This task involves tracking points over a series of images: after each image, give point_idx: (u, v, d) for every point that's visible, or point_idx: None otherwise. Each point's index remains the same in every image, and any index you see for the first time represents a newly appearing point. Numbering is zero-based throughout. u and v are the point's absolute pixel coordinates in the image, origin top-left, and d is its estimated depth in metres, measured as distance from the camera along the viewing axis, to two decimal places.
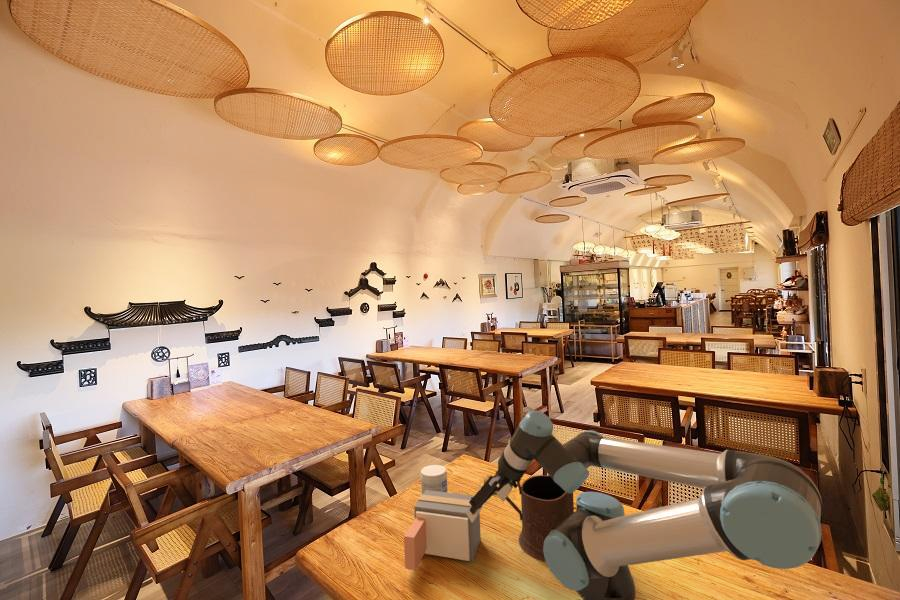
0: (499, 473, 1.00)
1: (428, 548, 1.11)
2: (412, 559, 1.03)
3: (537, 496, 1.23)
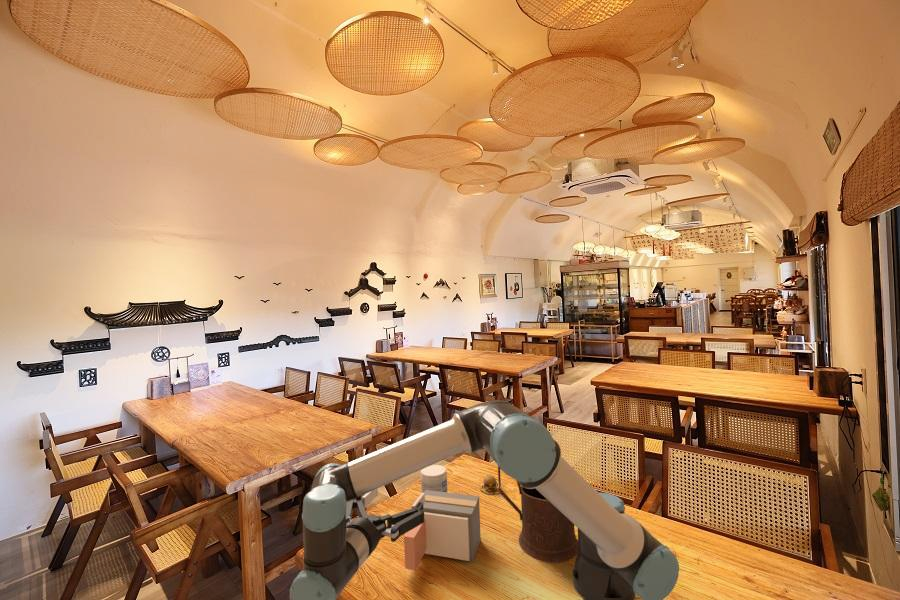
0: (380, 537, 0.81)
1: (428, 548, 1.11)
2: (412, 559, 1.03)
3: (537, 496, 1.23)
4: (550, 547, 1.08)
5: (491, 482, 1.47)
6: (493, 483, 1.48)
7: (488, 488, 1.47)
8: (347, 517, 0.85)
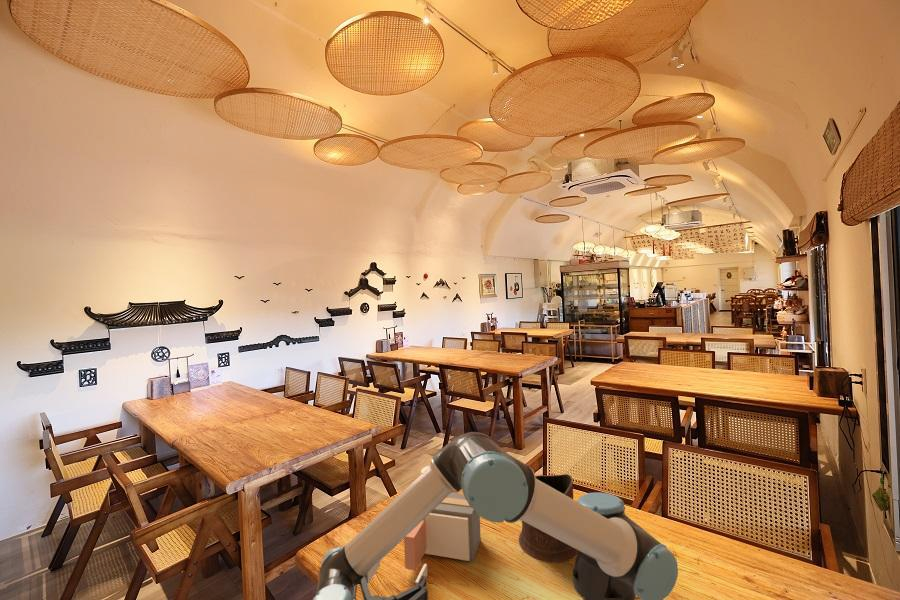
0: None
1: (428, 548, 1.11)
2: (412, 559, 1.03)
3: None
4: (550, 547, 1.08)
5: None
6: None
7: None
8: None
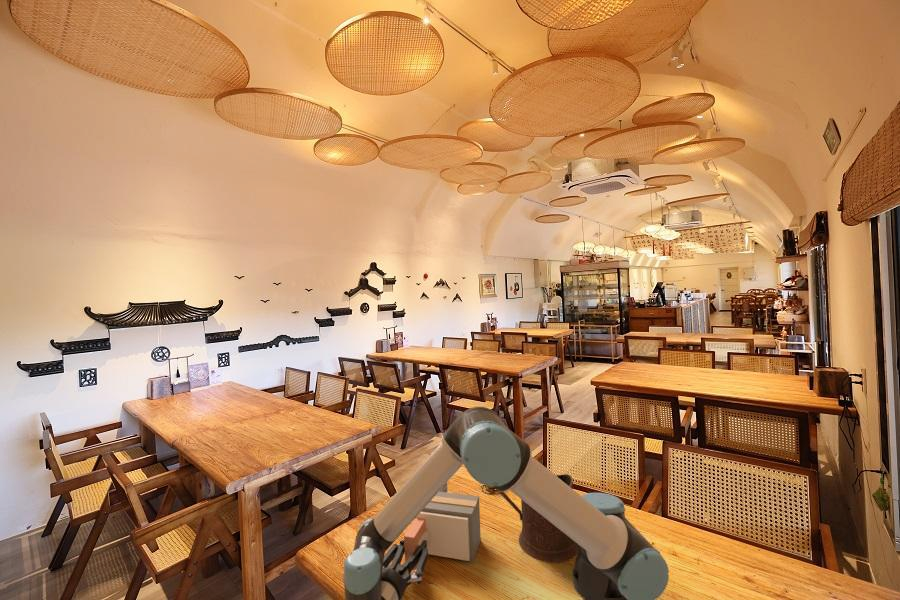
0: None
1: (428, 548, 1.11)
2: None
3: None
4: (550, 547, 1.08)
5: None
6: None
7: (489, 488, 1.48)
8: None
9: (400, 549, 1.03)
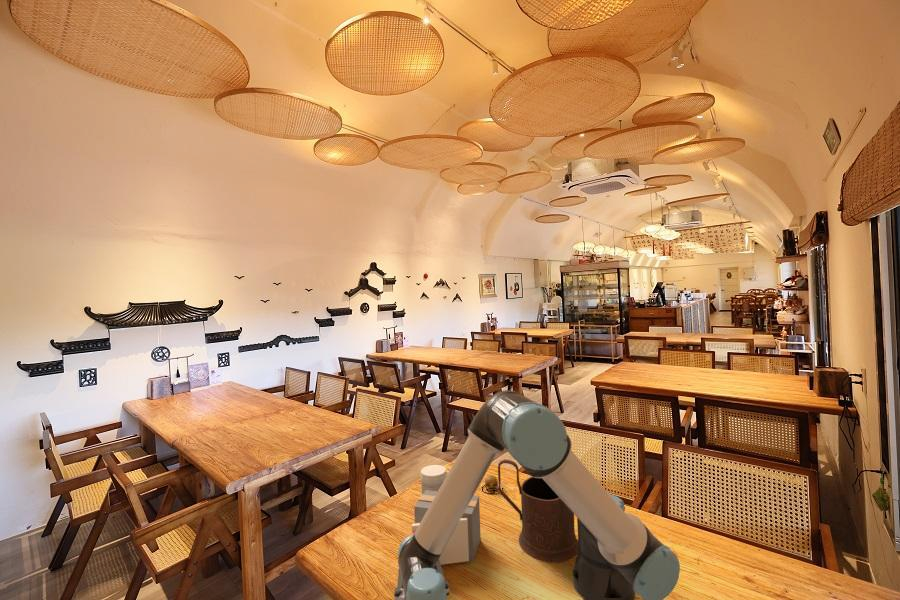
0: None
1: None
2: None
3: (537, 496, 1.23)
4: (550, 547, 1.08)
5: (492, 482, 1.48)
6: (494, 483, 1.48)
7: (489, 488, 1.48)
8: (399, 589, 0.89)
9: None
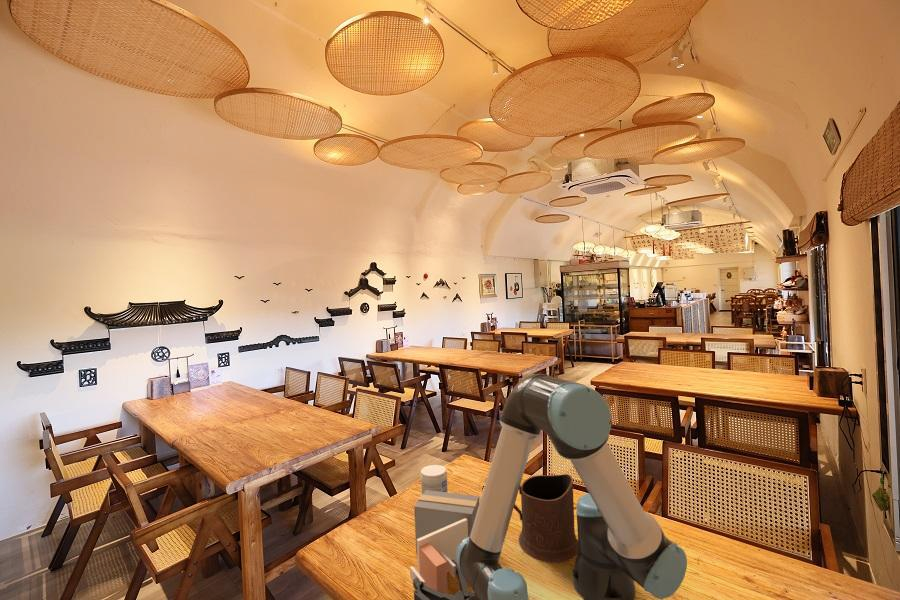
0: None
1: None
2: (445, 586, 0.93)
3: (537, 496, 1.23)
4: (550, 547, 1.08)
5: None
6: None
7: None
8: None
9: (429, 589, 0.89)
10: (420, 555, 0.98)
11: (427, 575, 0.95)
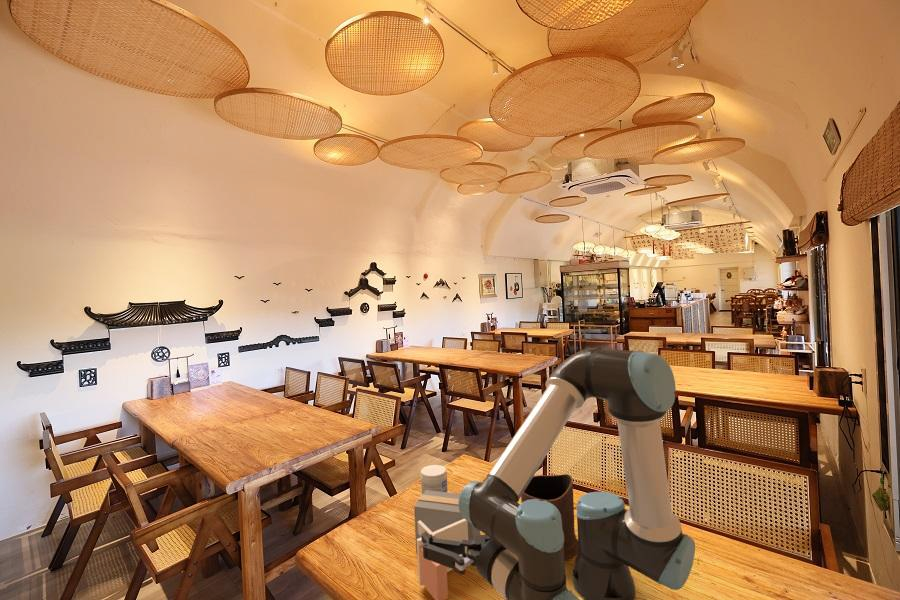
0: None
1: None
2: (445, 586, 0.93)
3: (537, 496, 1.23)
4: None
5: None
6: None
7: None
8: (459, 556, 0.73)
9: (441, 540, 0.78)
10: (420, 555, 0.98)
11: (427, 575, 0.95)
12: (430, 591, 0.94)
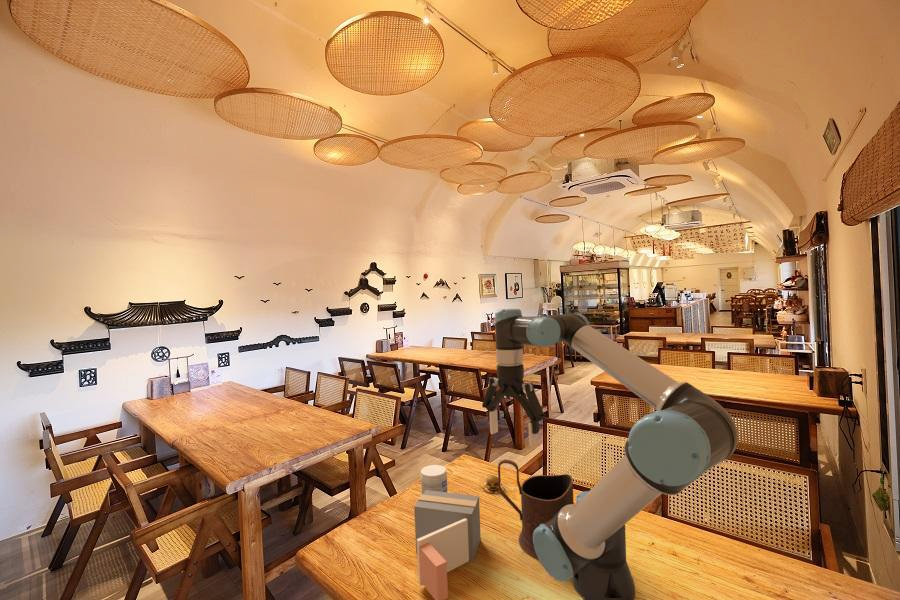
0: None
1: None
2: (445, 586, 0.93)
3: (537, 496, 1.23)
4: None
5: (493, 481, 1.48)
6: (495, 482, 1.48)
7: (490, 487, 1.48)
8: (525, 389, 1.00)
9: (527, 412, 1.00)
10: (420, 555, 0.98)
11: (427, 575, 0.95)
12: (430, 591, 0.94)
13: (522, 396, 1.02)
